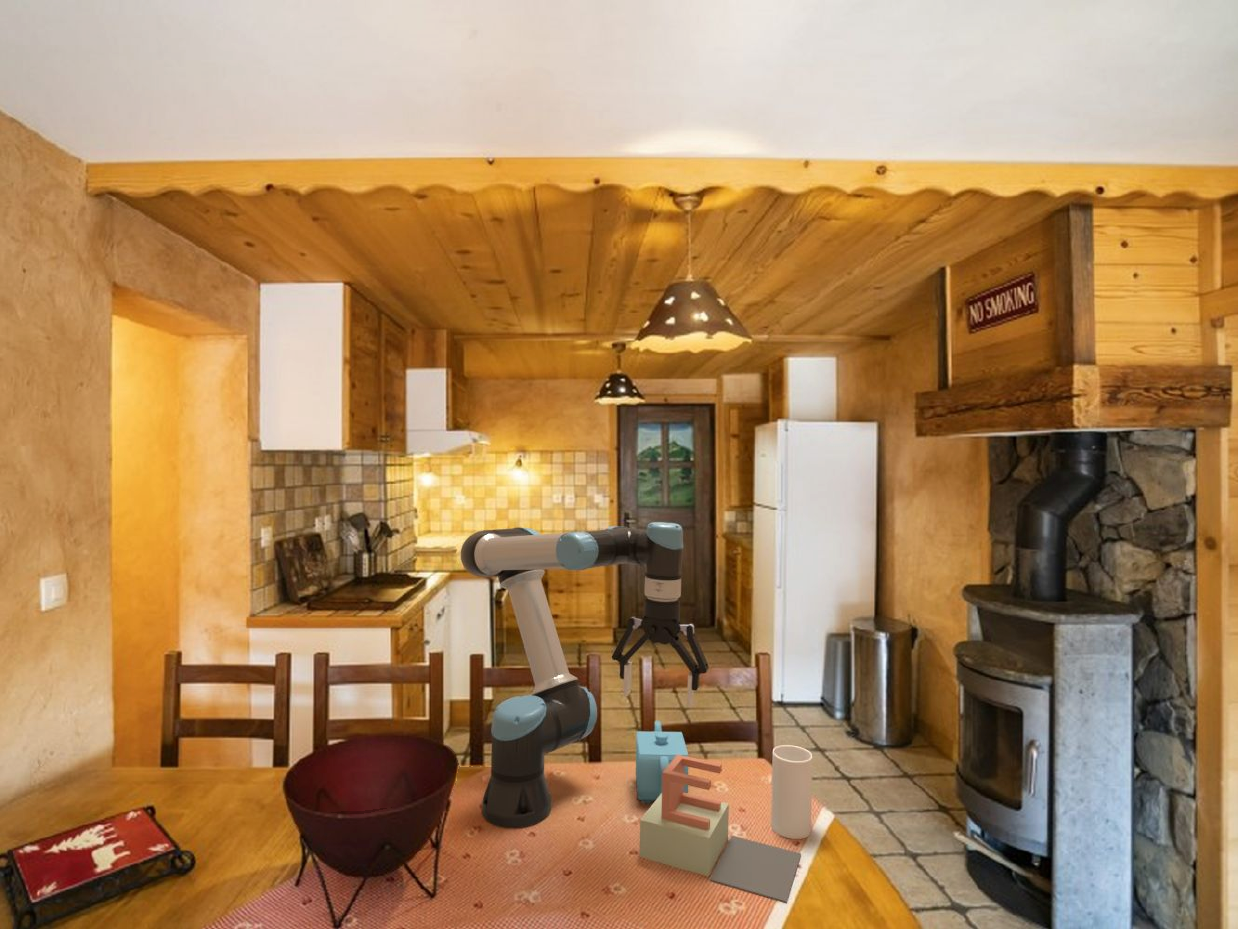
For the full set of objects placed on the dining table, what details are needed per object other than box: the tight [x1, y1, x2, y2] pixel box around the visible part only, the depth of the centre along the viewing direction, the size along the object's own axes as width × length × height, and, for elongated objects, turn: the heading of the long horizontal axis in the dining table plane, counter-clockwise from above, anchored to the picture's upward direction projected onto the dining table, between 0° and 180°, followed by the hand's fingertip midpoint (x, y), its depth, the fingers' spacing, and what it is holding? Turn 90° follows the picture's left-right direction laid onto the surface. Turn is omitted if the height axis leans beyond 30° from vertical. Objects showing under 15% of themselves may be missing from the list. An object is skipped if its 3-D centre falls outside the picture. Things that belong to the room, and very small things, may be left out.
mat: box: [709, 835, 802, 904], centre depth 125 cm, size 14×16×1 cm
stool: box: [661, 755, 723, 830], centre depth 130 cm, size 10×9×9 cm
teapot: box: [635, 720, 690, 804], centre depth 154 cm, size 22×11×14 cm, turn 1°
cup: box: [770, 744, 813, 840], centre depth 139 cm, size 8×8×16 cm
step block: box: [638, 793, 730, 878], centre depth 131 cm, size 14×14×7 cm
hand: (657, 699), depth 135 cm, fingers open, 13 cm apart
